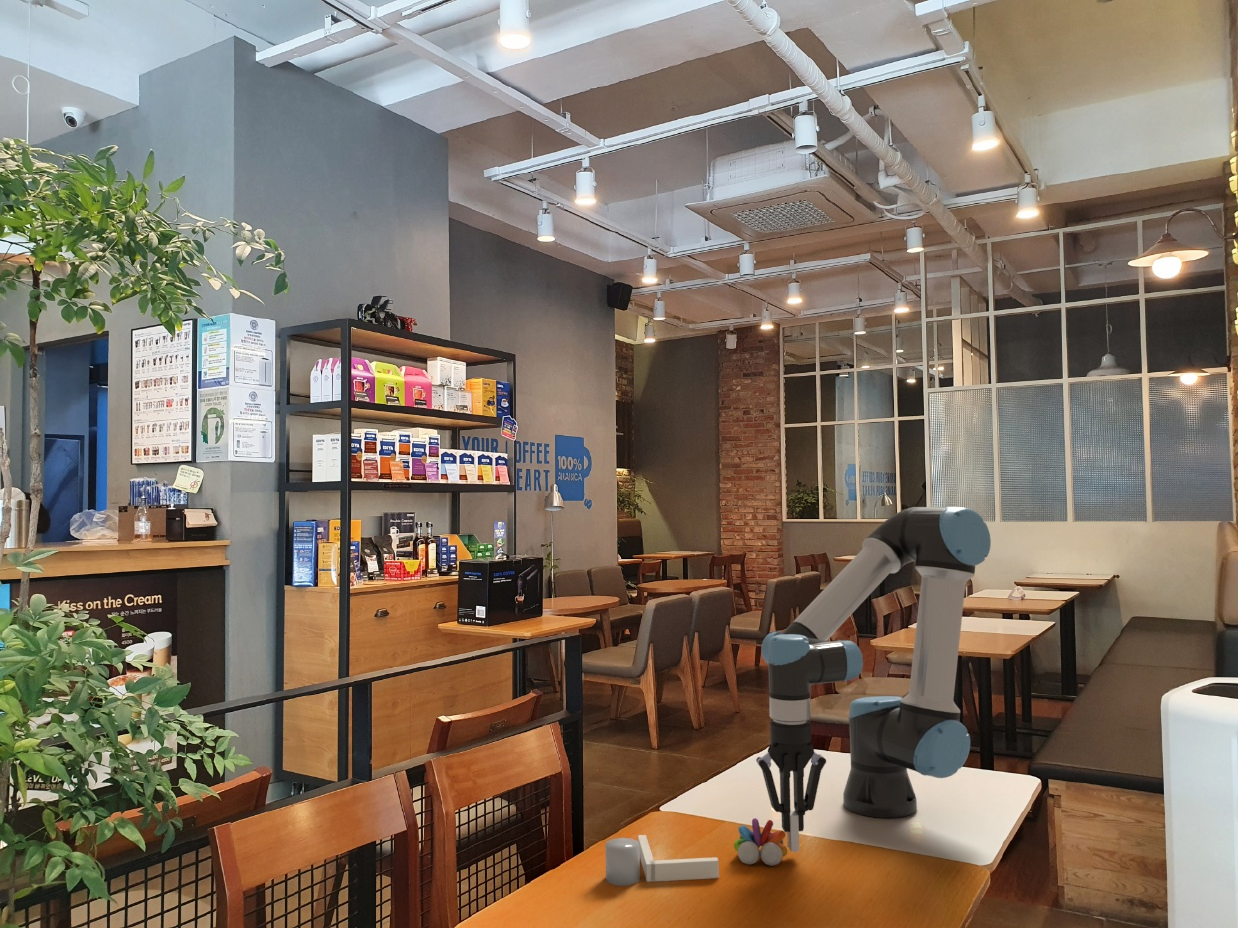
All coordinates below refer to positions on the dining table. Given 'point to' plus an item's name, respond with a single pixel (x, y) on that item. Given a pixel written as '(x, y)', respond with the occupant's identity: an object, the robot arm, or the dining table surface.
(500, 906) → the dining table surface
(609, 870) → the short grey cylinder
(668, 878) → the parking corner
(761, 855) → the rainbow petal fan toy
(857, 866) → the dining table surface
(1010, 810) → the dining table surface
